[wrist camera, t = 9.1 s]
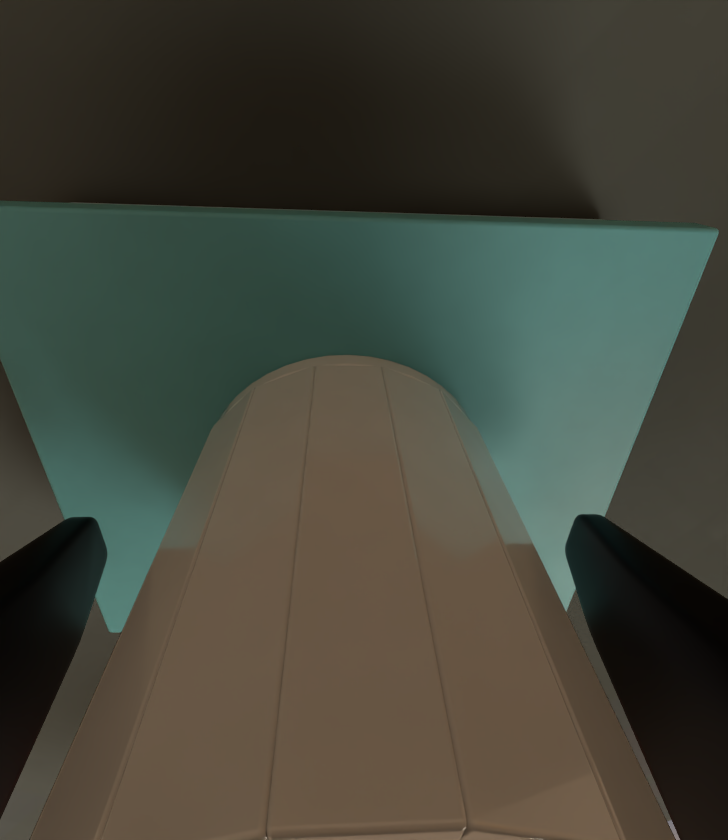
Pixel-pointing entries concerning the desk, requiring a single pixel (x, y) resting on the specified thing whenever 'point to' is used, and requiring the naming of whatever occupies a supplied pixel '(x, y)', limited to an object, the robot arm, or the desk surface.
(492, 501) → the beige cup
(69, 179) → the desk surface
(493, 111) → the desk surface
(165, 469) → the teal flat box
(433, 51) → the desk surface
